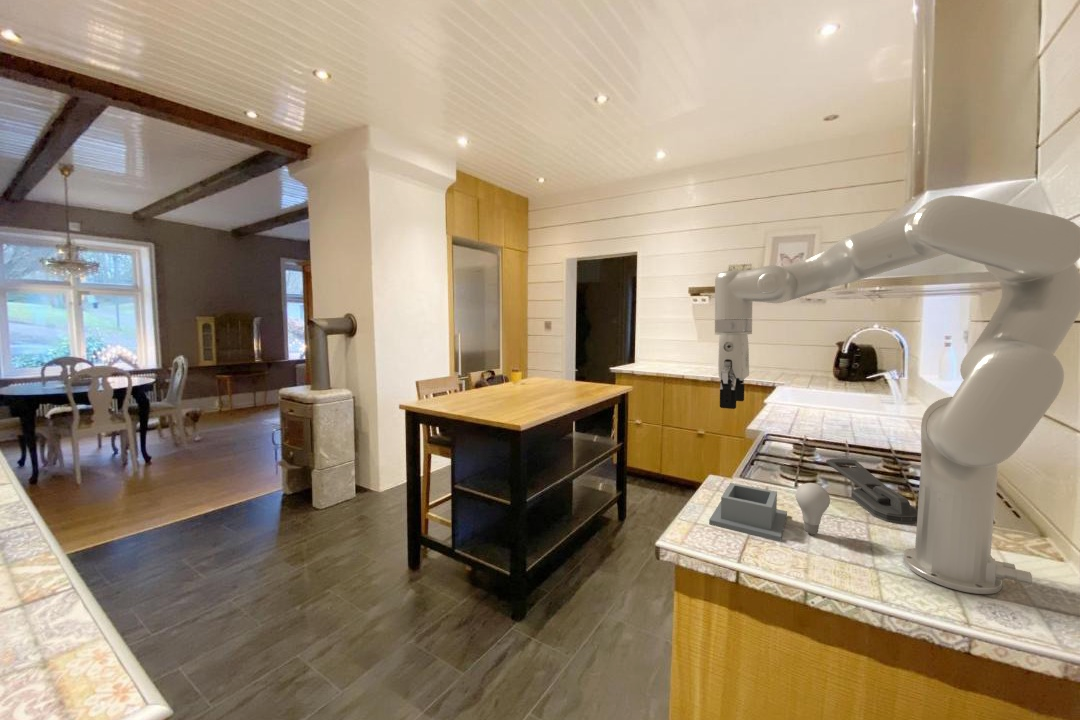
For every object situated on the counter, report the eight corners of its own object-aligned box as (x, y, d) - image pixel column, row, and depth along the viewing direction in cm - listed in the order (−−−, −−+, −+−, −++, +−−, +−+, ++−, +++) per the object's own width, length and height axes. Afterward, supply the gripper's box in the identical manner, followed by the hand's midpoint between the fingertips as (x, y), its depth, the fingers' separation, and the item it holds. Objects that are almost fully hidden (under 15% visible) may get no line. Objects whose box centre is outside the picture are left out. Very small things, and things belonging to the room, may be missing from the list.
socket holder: (786, 515, 99) (787, 490, 98) (780, 541, 87) (781, 513, 87) (722, 501, 107) (723, 478, 106) (709, 524, 95) (709, 498, 95)
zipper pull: (856, 458, 118) (930, 496, 93) (855, 481, 118) (928, 525, 93) (822, 458, 118) (886, 495, 94) (821, 481, 119) (884, 523, 94)
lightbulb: (815, 544, 86) (817, 491, 85) (787, 530, 92) (789, 481, 91) (835, 537, 89) (837, 486, 88) (806, 524, 94) (808, 476, 93)
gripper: (745, 328, 84) (744, 413, 86) (757, 326, 99) (756, 399, 100) (705, 329, 89) (705, 409, 90) (723, 327, 103) (722, 397, 104)
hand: (732, 404), depth 95 cm, fingers open, 9 cm apart
